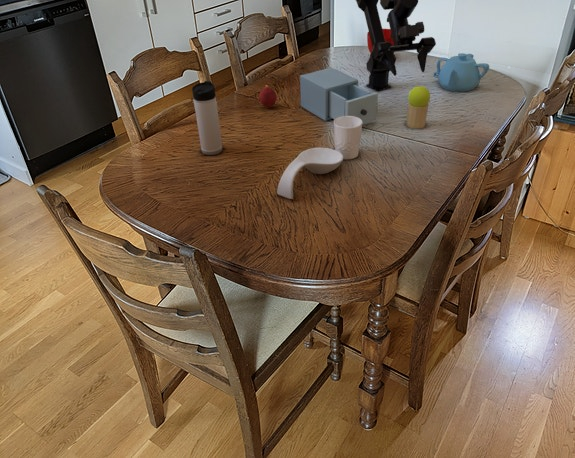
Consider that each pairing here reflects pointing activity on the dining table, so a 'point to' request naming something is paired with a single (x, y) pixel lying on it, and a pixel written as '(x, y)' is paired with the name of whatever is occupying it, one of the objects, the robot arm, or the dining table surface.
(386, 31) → the ceramic cup
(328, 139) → the dining table surface
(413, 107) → the stand
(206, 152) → the travel mug
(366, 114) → the drawer
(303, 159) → the spoon rest
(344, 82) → the cabinet
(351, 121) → the white cup
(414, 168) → the dining table surface
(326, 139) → the dining table surface
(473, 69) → the teapot
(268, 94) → the onion
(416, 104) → the ball
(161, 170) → the dining table surface
